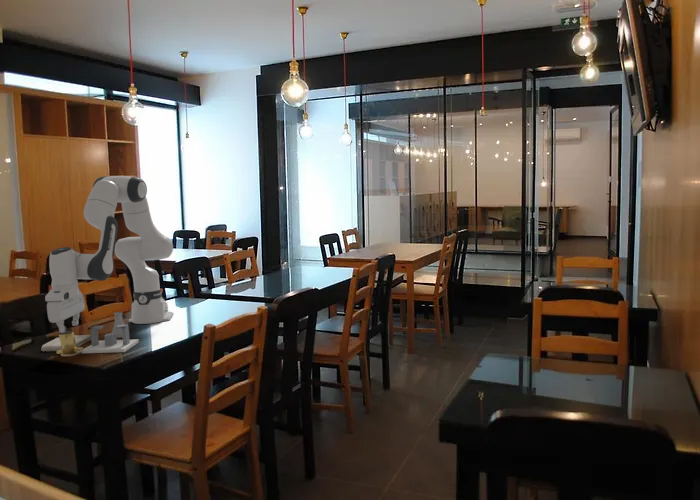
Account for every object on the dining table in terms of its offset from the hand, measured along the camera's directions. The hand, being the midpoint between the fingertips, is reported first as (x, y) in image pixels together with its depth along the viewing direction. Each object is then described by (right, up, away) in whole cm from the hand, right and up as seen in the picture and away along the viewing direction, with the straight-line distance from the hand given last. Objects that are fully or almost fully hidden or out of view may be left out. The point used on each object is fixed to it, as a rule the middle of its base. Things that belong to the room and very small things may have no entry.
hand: (69, 328), depth 218 cm
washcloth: (-7, -9, +14) cm, 18 cm away
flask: (+9, -7, +25) cm, 28 cm away
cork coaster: (0, -9, 0) cm, 9 cm away
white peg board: (+13, -8, +7) cm, 17 cm away
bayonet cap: (0, -9, 0) cm, 9 cm away
